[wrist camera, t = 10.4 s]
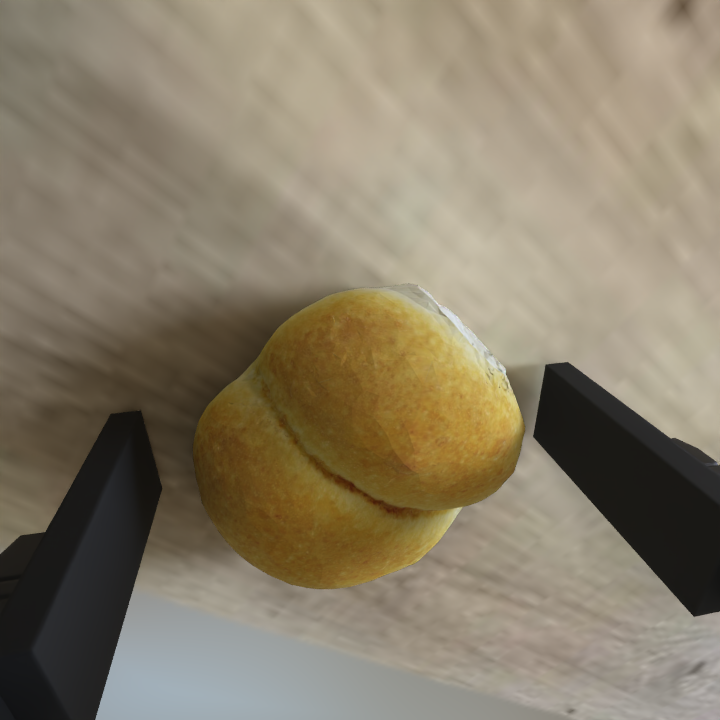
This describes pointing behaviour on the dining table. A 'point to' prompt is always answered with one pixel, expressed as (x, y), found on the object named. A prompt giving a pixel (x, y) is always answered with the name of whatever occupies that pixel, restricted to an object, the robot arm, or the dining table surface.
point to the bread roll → (356, 438)
